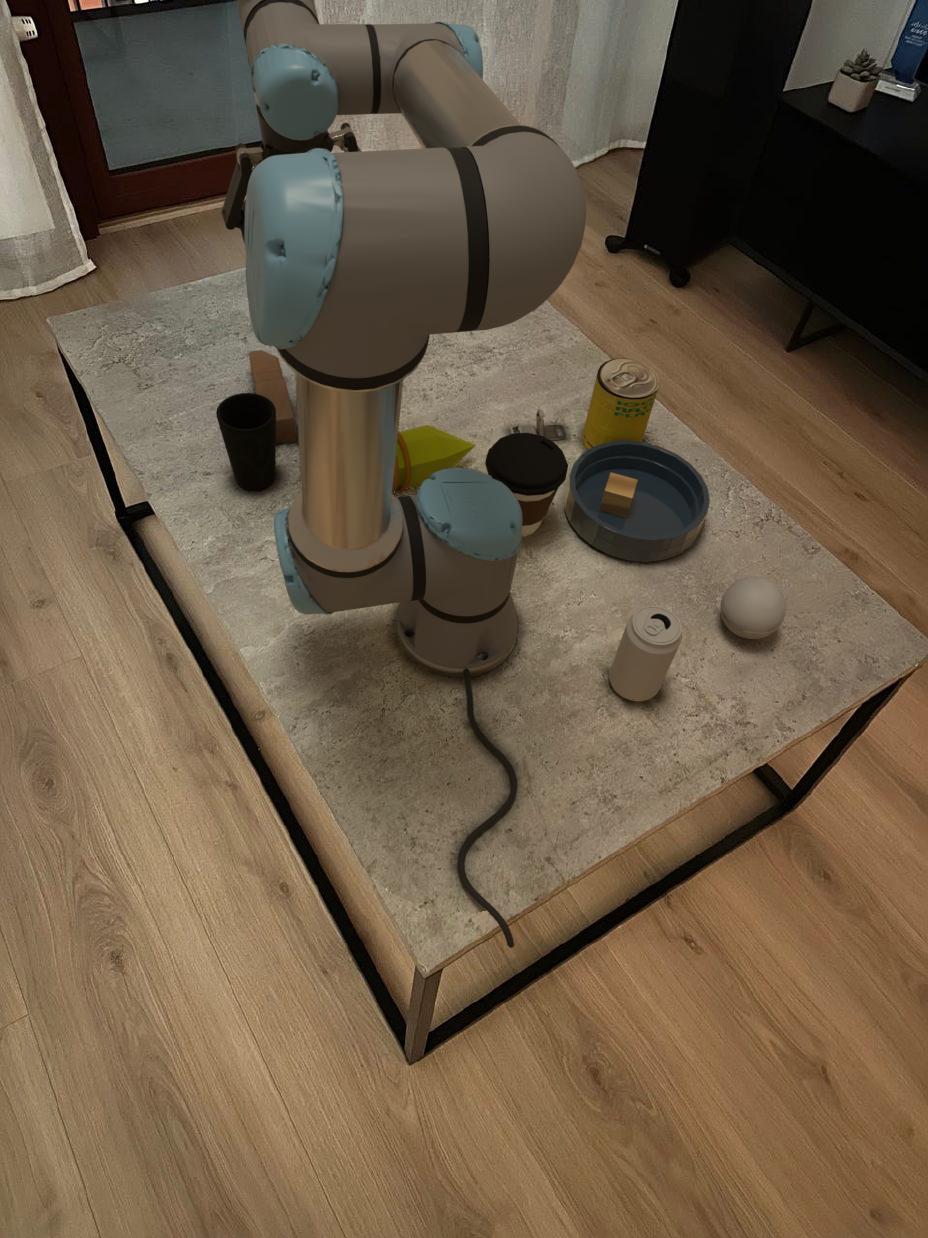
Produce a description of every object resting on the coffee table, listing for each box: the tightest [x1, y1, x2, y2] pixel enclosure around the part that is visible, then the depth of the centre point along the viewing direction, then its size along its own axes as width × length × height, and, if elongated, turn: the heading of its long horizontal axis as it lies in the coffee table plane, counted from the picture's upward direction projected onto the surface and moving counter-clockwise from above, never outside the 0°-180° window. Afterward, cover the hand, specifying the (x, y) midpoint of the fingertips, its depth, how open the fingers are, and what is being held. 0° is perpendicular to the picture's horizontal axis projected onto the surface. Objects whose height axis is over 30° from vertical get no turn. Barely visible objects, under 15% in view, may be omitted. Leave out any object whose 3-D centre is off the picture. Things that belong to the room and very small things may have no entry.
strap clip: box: [509, 408, 567, 441], centre depth 136 cm, size 8×3×4 cm, turn 100°
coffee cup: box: [484, 432, 569, 538], centre depth 121 cm, size 11×11×12 cm
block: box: [599, 473, 638, 518], centre depth 127 cm, size 4×4×4 cm
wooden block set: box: [248, 349, 297, 445], centre depth 136 cm, size 17×6×18 cm
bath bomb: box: [719, 576, 787, 640], centre depth 115 cm, size 8×8×8 cm
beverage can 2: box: [608, 604, 683, 702], centre depth 106 cm, size 6×6×12 cm
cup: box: [215, 392, 277, 493], centre depth 123 cm, size 8×8×12 cm
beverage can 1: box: [581, 357, 660, 451], centre depth 134 cm, size 9×9×12 cm
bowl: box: [563, 440, 711, 563], centre depth 127 cm, size 20×20×5 cm
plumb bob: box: [392, 424, 476, 495], centre depth 126 cm, size 9×9×25 cm
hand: (312, 253), depth 118 cm, fingers open, 13 cm apart
